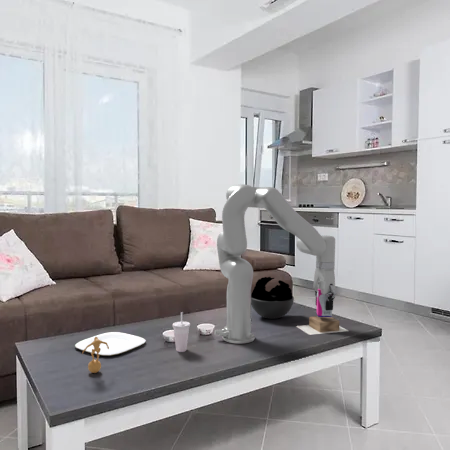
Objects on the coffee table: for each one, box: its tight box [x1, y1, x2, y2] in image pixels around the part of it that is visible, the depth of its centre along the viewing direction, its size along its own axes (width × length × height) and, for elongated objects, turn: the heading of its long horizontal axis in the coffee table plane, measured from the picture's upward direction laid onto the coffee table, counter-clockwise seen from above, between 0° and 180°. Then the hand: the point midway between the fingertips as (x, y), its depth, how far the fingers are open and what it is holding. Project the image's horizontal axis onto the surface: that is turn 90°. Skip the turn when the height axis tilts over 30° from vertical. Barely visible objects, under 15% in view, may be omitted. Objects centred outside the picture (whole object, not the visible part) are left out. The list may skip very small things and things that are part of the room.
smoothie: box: [172, 311, 191, 353], centre depth 159 cm, size 6×6×14 cm
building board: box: [295, 324, 349, 336], centre depth 184 cm, size 18×12×1 cm, turn 108°
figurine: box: [82, 337, 109, 374], centre depth 137 cm, size 8×6×12 cm
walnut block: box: [308, 315, 341, 332], centre depth 184 cm, size 9×9×4 cm
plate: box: [74, 331, 147, 357], centre depth 163 cm, size 22×22×2 cm
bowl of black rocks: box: [251, 276, 295, 320], centre depth 201 cm, size 20×20×19 cm
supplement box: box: [316, 289, 333, 317], centre depth 183 cm, size 6×6×12 cm
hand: (324, 307), depth 183 cm, fingers closed on supplement box, 7 cm apart
